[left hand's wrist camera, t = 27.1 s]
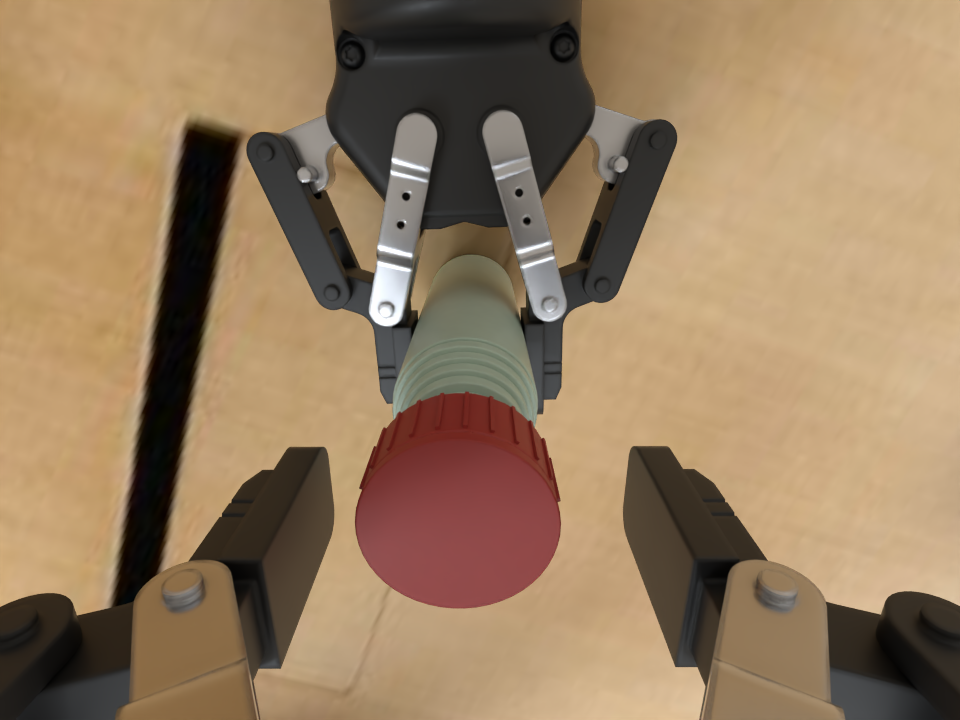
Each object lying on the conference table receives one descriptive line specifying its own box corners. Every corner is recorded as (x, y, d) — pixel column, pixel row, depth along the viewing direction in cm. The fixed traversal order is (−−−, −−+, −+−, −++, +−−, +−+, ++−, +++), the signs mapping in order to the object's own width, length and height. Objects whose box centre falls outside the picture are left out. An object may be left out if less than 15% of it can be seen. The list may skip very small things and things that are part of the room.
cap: (549, 384, 12) (563, 431, 10) (551, 538, 13) (563, 606, 11) (361, 394, 12) (337, 442, 10) (383, 546, 13) (366, 615, 11)
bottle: (475, 236, 26) (465, 374, 10) (530, 299, 27) (600, 513, 11) (412, 292, 27) (315, 499, 11) (468, 351, 28) (453, 615, 12)
